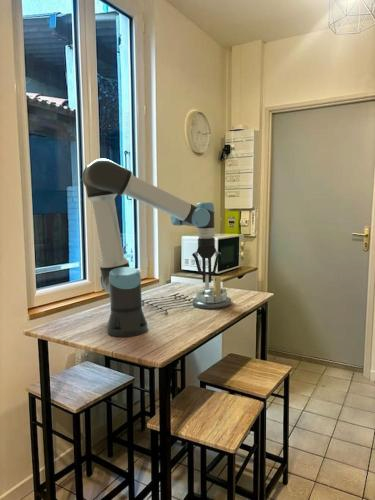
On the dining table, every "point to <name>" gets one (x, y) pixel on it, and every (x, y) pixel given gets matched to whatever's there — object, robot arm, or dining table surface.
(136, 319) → the robot arm
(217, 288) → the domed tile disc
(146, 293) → the dining table surface
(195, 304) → the housing
